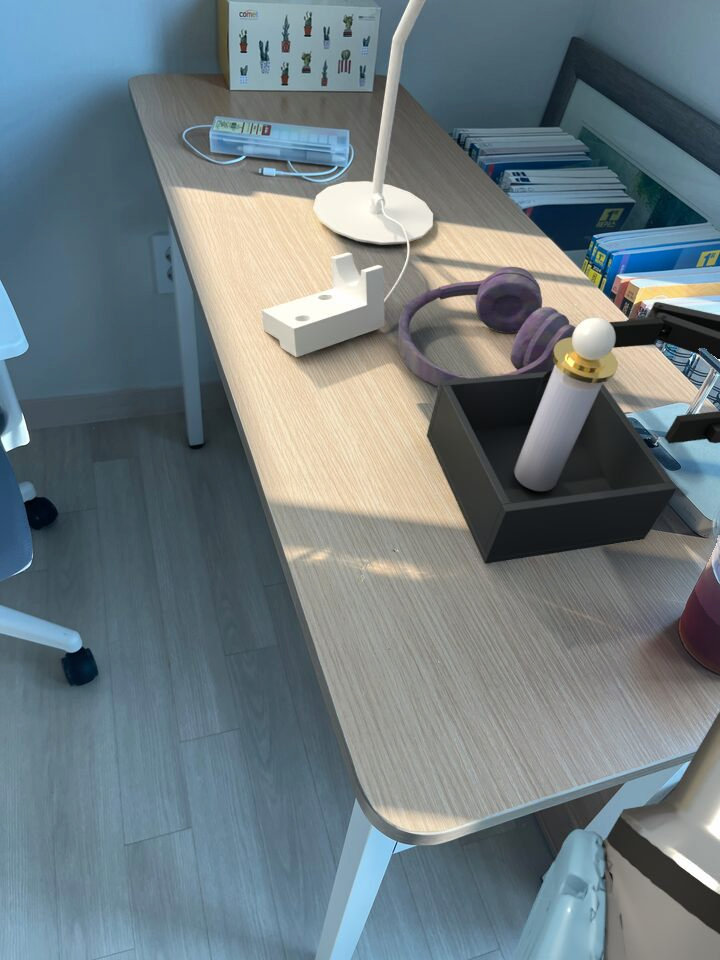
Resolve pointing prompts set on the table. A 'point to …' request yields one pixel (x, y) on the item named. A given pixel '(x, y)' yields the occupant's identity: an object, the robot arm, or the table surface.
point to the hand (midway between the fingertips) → (634, 380)
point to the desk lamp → (379, 178)
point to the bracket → (330, 310)
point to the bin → (580, 488)
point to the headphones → (496, 322)
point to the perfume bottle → (566, 402)
